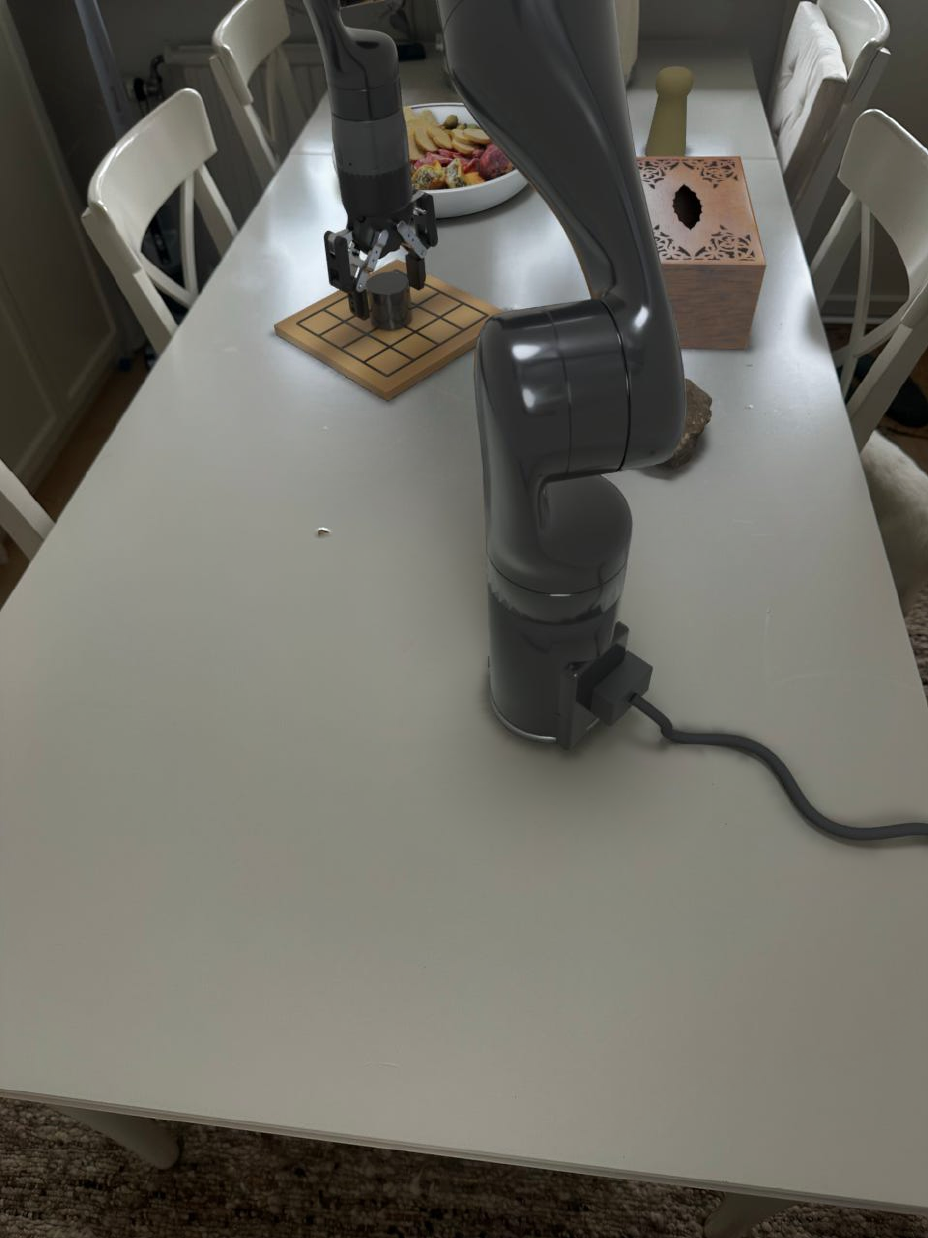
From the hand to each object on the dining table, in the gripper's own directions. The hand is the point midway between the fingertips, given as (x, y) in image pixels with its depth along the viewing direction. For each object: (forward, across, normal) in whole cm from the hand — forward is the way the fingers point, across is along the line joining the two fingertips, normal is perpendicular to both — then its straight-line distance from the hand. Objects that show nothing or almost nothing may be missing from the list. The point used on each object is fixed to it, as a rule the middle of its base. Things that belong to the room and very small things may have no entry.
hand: (389, 301), depth 100 cm
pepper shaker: (+3, +59, +4) cm, 59 cm away
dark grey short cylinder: (+2, 0, 0) cm, 2 cm away
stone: (+4, +3, -33) cm, 33 cm away
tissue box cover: (+4, +29, -20) cm, 35 cm away
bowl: (+4, +31, +24) cm, 40 cm away
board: (+4, 0, 0) cm, 4 cm away
